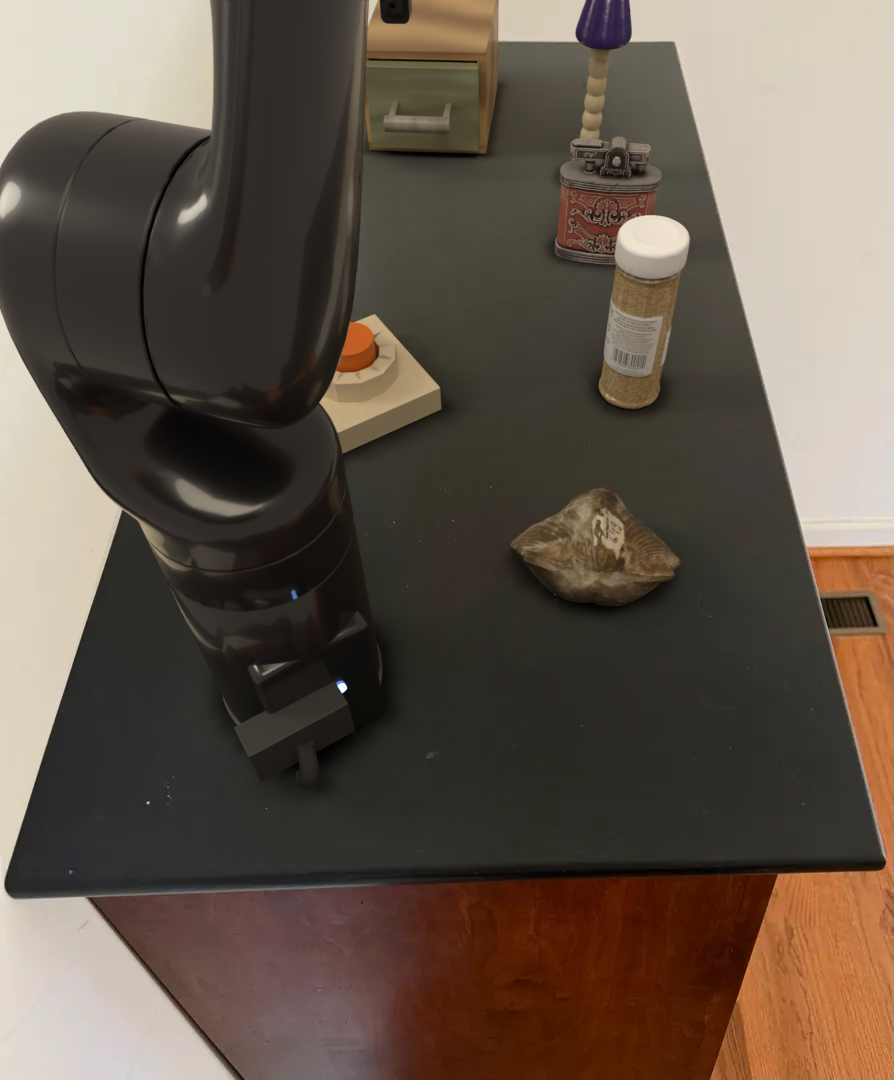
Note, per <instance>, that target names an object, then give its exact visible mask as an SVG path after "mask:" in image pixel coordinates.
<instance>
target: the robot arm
mask: <svg viewBox="0 0 894 1080" xmlns="http://www.w3.org/2000/svg"><path fill="white" fill-rule="evenodd" d="M209 4H210V6H209V7H210V16H211V18H210V19H211V40H212V41H211V42H212V43H211V44H212V104H211V105H212V106H211V127H210V129H207V128H202V127H195V126H190V125H184V124H178V123H172V122H166V121H160V120H154V119H149V118H143V117H138V116H131V115H124V114H119V113H112V112H102V111H94V110H91V111H89V110H88V111H87V110H86V111H85V110H84V111H83V110H82V111H81V110H80V111H79V110H77V111H67V112H63V113H59V114H57V115H54V116H51V117H48V118H46V119H43V120H41V121H38V122H37V123H36V124H35V125H34V126H32V127H31V128H30V129H28V130H27V131H25V132H24V133H23V134H22V135H21V136H20V137H19V139H17V141H16V142H15V143H14V145H13V146H12V147H11V148H10V150H9V151H8V153H6V156H5V157H4V159H3V160H2V163H1V165H0V313H1V316H2V319H3V321H4V324H5V327H6V329H7V332H8V334H9V336H10V338H11V340H12V342H13V344H14V347H15V348H16V350H17V352H18V355H19V356H20V359H21V361H22V363H23V364H24V366H25V368H26V370H27V371H28V373H29V375H30V377H31V378H32V380H33V382H34V383H35V386H36V387H37V390H38V391H39V392H40V394H41V395H42V397H43V399H44V400H45V402H46V404H47V406H48V407H49V409H50V410H51V412H52V414H53V415H54V417H55V420H57V423H58V424H59V425H60V427H61V429H62V431H63V432H64V434H65V436H66V437H67V438H68V440H69V441H70V443H71V446H72V447H73V449H74V450H75V452H76V454H77V455H78V457H79V459H80V461H81V462H82V464H83V466H84V467H85V469H86V470H87V472H88V474H89V475H90V477H91V478H92V479H93V481H94V482H95V484H96V485H97V486H98V488H99V489H100V490H101V491H102V492H103V493H104V494H105V496H106V497H107V498H108V499H109V500H110V501H111V502H113V503H114V504H115V505H116V506H117V507H118V508H120V509H121V510H123V511H124V512H125V513H127V515H129V516H131V517H132V518H133V519H135V520H136V521H137V522H138V524H139V527H140V528H141V530H142V532H143V535H144V537H145V539H146V540H147V541H146V542H147V543H148V545H149V547H150V549H151V551H152V553H153V555H154V557H155V559H156V561H157V564H158V566H159V567H160V570H161V572H162V575H163V577H164V579H165V581H166V583H167V585H168V587H169V589H170V591H171V593H172V595H173V597H174V600H175V601H176V604H177V605H178V608H179V610H180V613H181V614H182V616H183V618H184V620H185V622H186V624H187V626H188V628H189V631H190V633H191V634H192V637H193V638H194V641H195V642H196V646H197V647H198V649H199V651H200V653H201V655H202V657H203V659H204V661H205V663H206V666H207V668H208V670H209V672H210V674H211V676H212V678H213V680H214V682H215V684H216V686H217V687H218V689H219V691H220V694H221V695H222V700H223V702H224V706H225V708H226V711H227V712H228V715H229V716H230V719H231V720H232V721H233V723H234V724H235V726H234V727H233V729H234V731H235V733H236V735H237V738H238V740H239V741H240V744H241V746H242V747H243V749H244V751H245V754H246V756H247V757H248V759H249V760H248V761H249V762H250V764H251V766H252V768H253V770H254V772H255V773H256V776H257V778H258V780H259V782H260V783H263V782H265V781H267V780H269V779H270V778H272V777H274V776H276V775H277V774H280V773H281V772H283V771H285V770H286V769H288V768H291V767H292V766H294V765H296V764H297V763H298V767H299V769H298V770H296V773H295V780H296V782H297V784H298V785H300V786H302V787H303V788H307V789H312V788H314V787H315V786H317V785H318V783H319V780H320V777H321V771H320V764H319V760H318V755H317V752H320V751H322V750H323V749H325V748H326V747H328V746H330V745H332V744H334V743H336V742H337V741H339V740H341V739H343V738H345V737H346V736H348V735H350V734H352V733H354V732H355V731H356V730H357V729H359V728H361V727H363V726H365V725H366V724H368V723H370V722H372V721H374V720H375V719H377V718H379V717H381V716H383V715H384V714H385V713H386V707H385V701H384V697H383V691H382V687H383V680H384V666H383V664H384V663H383V660H382V654H381V650H380V647H379V644H378V640H377V635H376V629H375V625H374V620H373V615H372V610H371V604H370V599H369V593H368V588H367V584H366V578H365V572H364V567H363V561H362V556H361V550H360V545H359V540H358V533H357V528H356V523H355V517H354V512H353V505H352V500H351V495H350V490H349V489H350V488H349V482H348V477H347V472H346V471H347V470H346V465H345V459H344V455H343V454H344V453H342V448H341V444H340V440H339V436H338V433H337V430H336V428H335V425H334V423H333V421H332V419H331V418H330V416H329V414H328V413H327V411H326V410H325V409H324V407H323V406H322V405H321V404H320V403H319V402H320V401H321V400H322V398H323V397H324V395H325V394H326V392H327V391H328V389H329V387H330V385H331V382H332V380H333V378H334V375H335V373H336V370H337V368H338V365H339V363H340V360H341V356H342V353H343V349H344V345H345V341H346V337H347V333H348V329H349V325H350V322H351V320H352V313H353V307H354V301H355V293H356V284H357V282H356V281H357V275H358V266H359V265H358V264H359V255H360V237H361V219H362V218H361V217H362V202H363V201H362V199H363V198H362V197H363V171H364V147H365V146H364V144H365V119H366V114H365V90H366V60H367V36H368V25H369V14H370V13H369V11H370V10H369V9H370V0H209ZM380 12H381V19H382V21H383V22H384V23H386V24H406V23H407V22H408V21H409V19H410V15H411V12H412V0H380Z"/></svg>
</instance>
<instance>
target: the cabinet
mask: <svg viewBox="0 0 894 1080" xmlns="http://www.w3.org/2000/svg"><path fill="white" fill-rule="evenodd" d="M499 3H500V0H412V12H411V15H410V19H409V21H408V22H407V23H406V24H386V23H384V22H383V21H382V19H381V12H380V0H377V1H376V4H375V7H374V10H373V12H372V14H371V17H370V20H369V21H368V36H367V60H368V61H377V59H413V60H459V61H477V63H479V108H480V146H479V151H456V150H425V149H393V148H373V147H372V139H371V129H370V120H369V110H368V100H367V91H366V90H365V122H366V133H367V140H368V149H369V151H385V152H387V151H388V152H389V151H390V152H392V151H393V152H419V153H420V152H422V153H423V152H425V153H452V154H453V153H455V154H487V149H488V143H489V138H490V133H491V127H492V122H493V116H494V115H493V114H494V109H495V103H496V98H497V92H498V86H499ZM367 60H366V61H367Z"/></svg>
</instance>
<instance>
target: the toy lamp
mask: <svg viewBox="0 0 894 1080" xmlns="http://www.w3.org/2000/svg"><path fill="white" fill-rule="evenodd" d="M632 28H633V26H632V15H631V1H630V0H585V1H584V4H583V7H582V8H581V12H580V15H579V18H578V21H577V24H576V26H575V38H576V41H578V42H579V43H580V44H581V45H583V46H585V47H586V48H589V49H590V54H591V58H590V59H589V61H588V72H589V75H588V77H587V80H586V91H587V92H586V94H585V97H584V111H583V113H582V118H581V119H582V120H581V122H582V127H581V130H580V134H579V139H593V140H600V134H601V133H600V127H601V125H602V121H603V112H602V110H603V109H604V106H605V102H606V101H605V100H606V98H605V93H606V90H607V86H608V78H607V75H608V73H609V72H610V71H609V70H610V65H611V64H610V58H609V57H610V56H611V54H612V51H613V50H618V49H621V48H622V47H626V46H627V45H628V44H629V42H631V39H632V37H633V36H632V35H633V29H632ZM568 161H577V160H573V159H571V158H570V159H569V160H568Z"/></svg>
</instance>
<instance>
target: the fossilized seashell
mask: <svg viewBox="0 0 894 1080" xmlns="http://www.w3.org/2000/svg"><path fill="white" fill-rule="evenodd" d="M509 549H510V550H511V551H512V552H514V553H515V554H516V555H517V556H518V557H519V558H520V559H521V560H522V562H523V563H524V565H525V566H526V568H527V569H528V570H529V572H530V573H531V575H532V576H533V577H534V579H536V581H538V582H539V583H540V584H541V585H542V586H544V587H545V588H546V589H547V590H548V591H549V592H550V593H552V594H554V595H555V596H557V597H558V598H561V599H563V600H565V601H568V602H571V603H579V604H589V603H594V604H595V605H598V606H604V607H620V606H624V605H627V604H630V603H632V602H636V601H638V600H639V599H641V598H642V597H644V596H645V595H647V594H649V593H650V592H652V591H653V590H655V589H656V588H657V587H658V586H659V585H660V584H661V583H665V582H668V581H671V580H672V579H673V578H674V577H675V576H676V575H675V571H677V570H678V569H679V568H681V566H682V559H681V558H680V557H679V556H678V555H677V554H676V553H675V552H674V551H673V549H672V548H671V547H669V545H667V543H665V541H664V540H662V539H661V538H660V537H659V535H657V534H656V532H654V531H653V530H652V529H651V528H650V527H649V526H647V525H646V524H645V523H644V522H643V521H641V520H640V519H639V518H638V517H637V516H636V515H633V514H632V512H630V510H629V509H628V508H627V506H626V504H625V503H624V501H623V499H622V497H621V496H620V495H619V494H618V492H616V491H614V490H613V489H608V488H605V487H600V486H599V487H593V488H591V489H589V490H587V491H582V492H581V493H578V494H577V495H576V496H574V497H573V498H572V499H571V500H570V501H569V503H567V504H566V506H565V507H564V508H562V509H561V510H559V511H558V512H557V513H555V514H553V515H551V516H549V517H546V518H544V519H542V520H541V521H539V522H537V523H534V524H532V525H530V526H529V527H528V528H527V529H525V530H524V531H523V532H522V533H520V534H519V535H518V536H516V537H515V538H514V539H513V540H511V542H510V544H509Z"/></svg>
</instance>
